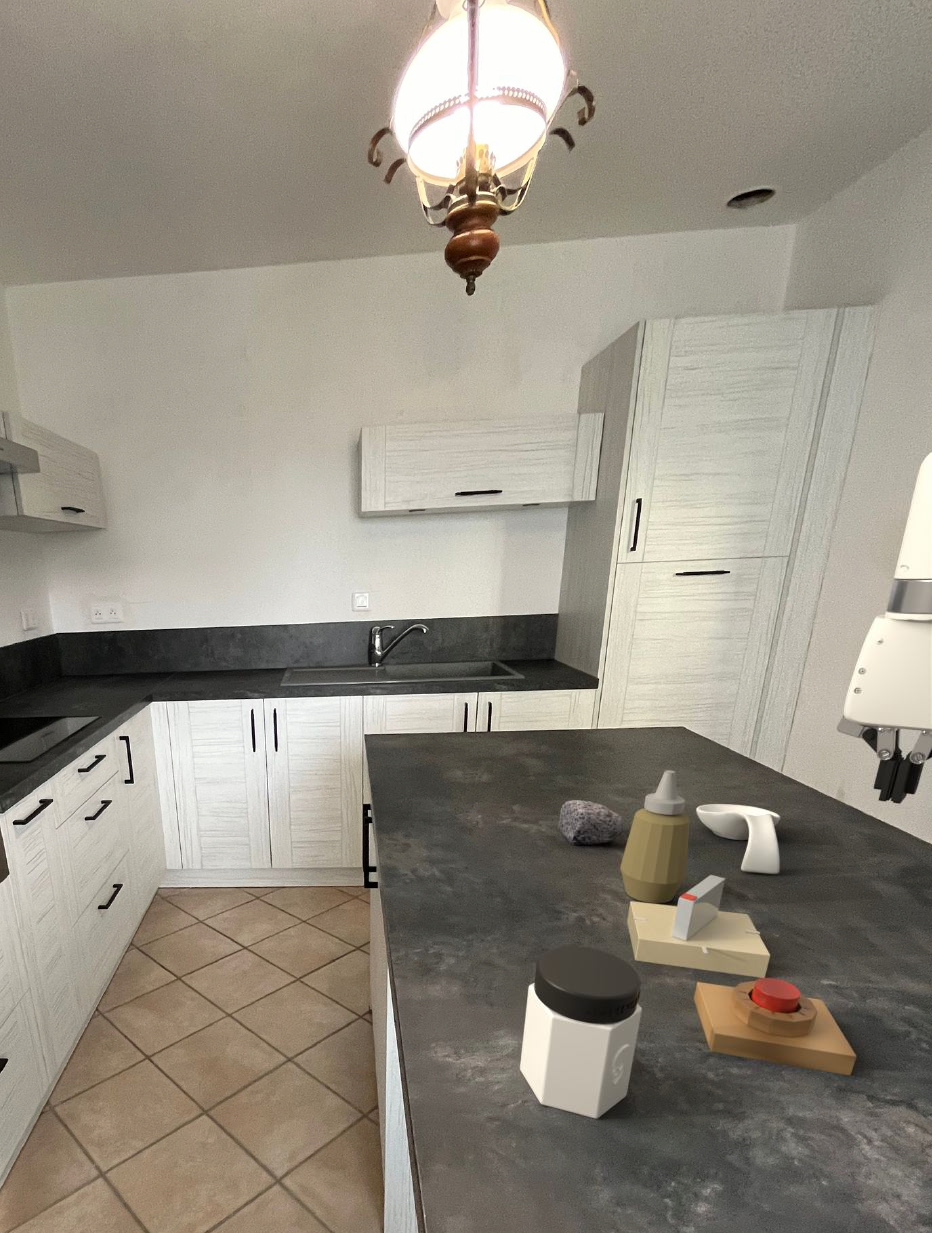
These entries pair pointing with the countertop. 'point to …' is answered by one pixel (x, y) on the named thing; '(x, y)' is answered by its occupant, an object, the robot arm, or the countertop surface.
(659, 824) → the squeeze bottle
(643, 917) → the base
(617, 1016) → the jar
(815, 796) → the countertop surface
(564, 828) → the pumice stone
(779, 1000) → the button
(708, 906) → the red-tipped gray slab
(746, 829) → the spoon rest
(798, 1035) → the button block
